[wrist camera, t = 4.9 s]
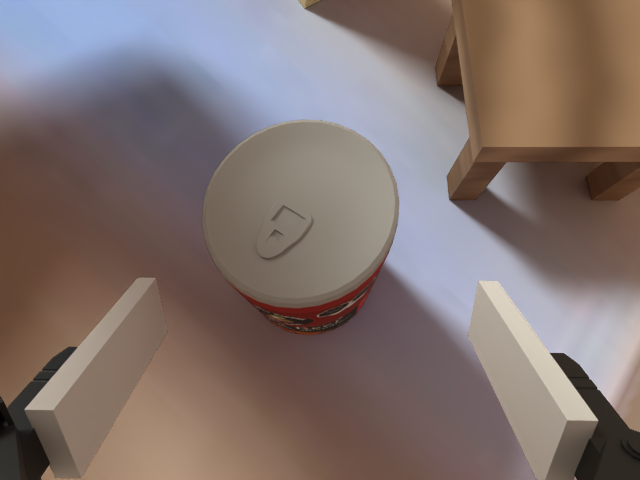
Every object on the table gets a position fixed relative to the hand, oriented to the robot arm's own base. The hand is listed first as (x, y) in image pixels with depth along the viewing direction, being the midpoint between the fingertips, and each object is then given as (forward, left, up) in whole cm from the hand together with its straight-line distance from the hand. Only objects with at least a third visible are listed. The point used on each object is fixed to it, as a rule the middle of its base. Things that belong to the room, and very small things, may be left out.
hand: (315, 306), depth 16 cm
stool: (+14, +15, -8) cm, 22 cm away
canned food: (-1, +4, -9) cm, 9 cm away
